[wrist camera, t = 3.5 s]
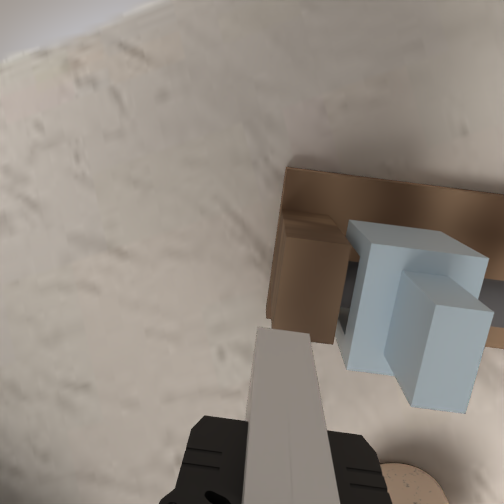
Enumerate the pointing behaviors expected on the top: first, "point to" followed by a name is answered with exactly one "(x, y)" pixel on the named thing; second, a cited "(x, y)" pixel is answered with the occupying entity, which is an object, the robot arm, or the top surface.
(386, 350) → the light blue slider block
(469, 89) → the top surface
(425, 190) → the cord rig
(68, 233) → the top surface
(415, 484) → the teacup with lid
